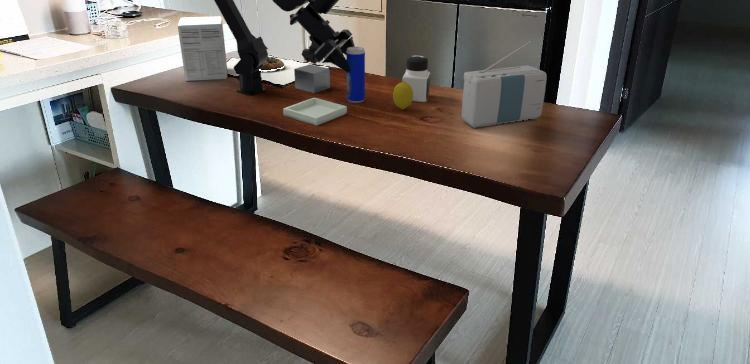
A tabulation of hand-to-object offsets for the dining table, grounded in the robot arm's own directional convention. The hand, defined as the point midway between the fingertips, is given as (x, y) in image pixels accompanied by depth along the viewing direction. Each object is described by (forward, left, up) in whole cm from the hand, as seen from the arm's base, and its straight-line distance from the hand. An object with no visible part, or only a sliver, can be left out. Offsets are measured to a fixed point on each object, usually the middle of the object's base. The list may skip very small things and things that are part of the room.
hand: (354, 67), depth 158 cm
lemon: (+15, +2, -10) cm, 18 cm away
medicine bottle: (+12, +13, -10) cm, 21 cm away
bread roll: (-45, +8, -10) cm, 47 cm away
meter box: (-18, +1, -10) cm, 20 cm away
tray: (-1, -16, -10) cm, 19 cm away
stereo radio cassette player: (+40, +11, -10) cm, 43 cm away
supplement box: (-55, -10, -10) cm, 56 cm away
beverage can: (0, 0, -10) cm, 10 cm away
